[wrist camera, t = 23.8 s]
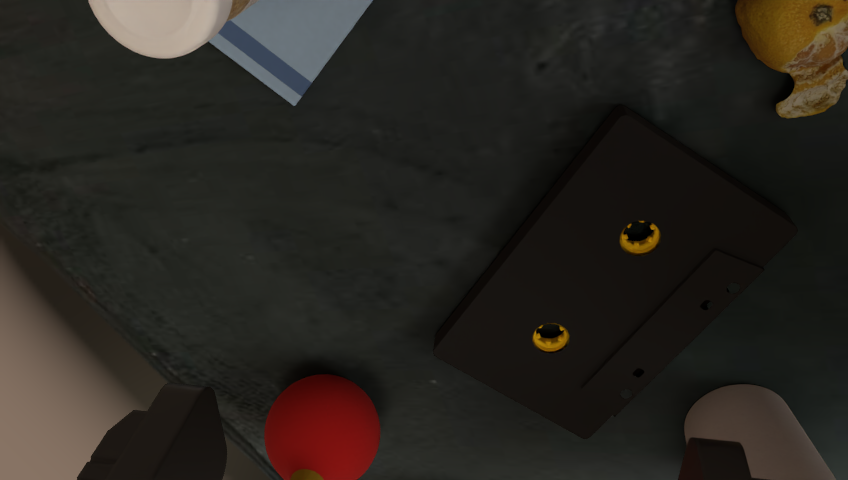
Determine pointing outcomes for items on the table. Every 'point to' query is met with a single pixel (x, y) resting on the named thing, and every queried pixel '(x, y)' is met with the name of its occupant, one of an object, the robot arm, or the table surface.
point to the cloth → (288, 40)
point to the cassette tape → (611, 276)
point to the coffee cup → (758, 432)
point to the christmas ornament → (322, 430)
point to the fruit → (800, 47)
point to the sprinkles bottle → (165, 23)
